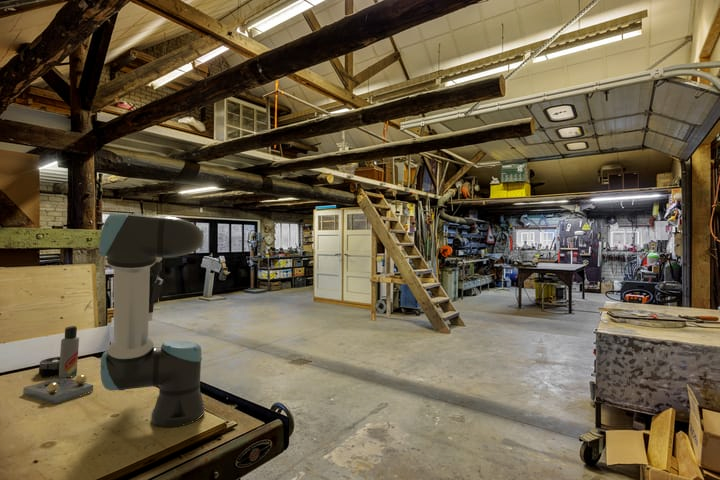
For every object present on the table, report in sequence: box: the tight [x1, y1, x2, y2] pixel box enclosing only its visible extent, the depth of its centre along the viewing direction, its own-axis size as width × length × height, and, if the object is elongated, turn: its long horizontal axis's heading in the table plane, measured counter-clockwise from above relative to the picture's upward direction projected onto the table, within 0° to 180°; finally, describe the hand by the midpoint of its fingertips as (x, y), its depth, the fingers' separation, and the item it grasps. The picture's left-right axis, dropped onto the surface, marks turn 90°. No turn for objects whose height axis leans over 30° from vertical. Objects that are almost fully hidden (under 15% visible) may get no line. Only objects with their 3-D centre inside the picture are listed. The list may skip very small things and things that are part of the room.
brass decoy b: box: [46, 383, 59, 393], centre depth 123 cm, size 3×3×3 cm
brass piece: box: [75, 374, 88, 384], centre depth 131 cm, size 3×3×3 cm
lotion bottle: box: [58, 325, 80, 378], centre depth 146 cm, size 6×6×20 cm
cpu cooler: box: [38, 356, 60, 378], centre depth 149 cm, size 10×6×10 cm
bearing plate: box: [22, 377, 94, 405], centre depth 128 cm, size 18×12×2 cm, turn 69°
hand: (147, 320), depth 142 cm, fingers closed
